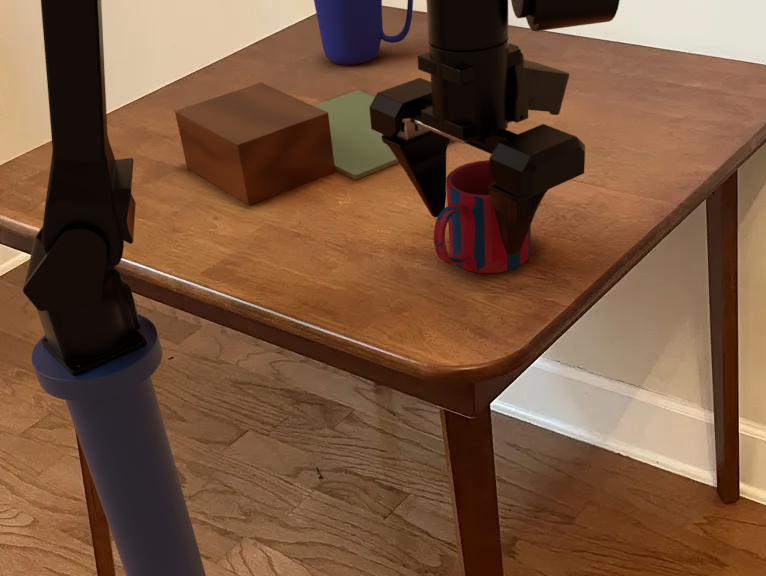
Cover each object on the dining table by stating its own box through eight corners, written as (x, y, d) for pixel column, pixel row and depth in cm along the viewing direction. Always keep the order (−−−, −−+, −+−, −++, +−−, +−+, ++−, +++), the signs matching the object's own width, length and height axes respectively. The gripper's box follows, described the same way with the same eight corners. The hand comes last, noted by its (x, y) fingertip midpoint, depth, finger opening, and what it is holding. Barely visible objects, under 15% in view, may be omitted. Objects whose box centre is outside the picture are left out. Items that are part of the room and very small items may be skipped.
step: (248, 205, 96) (237, 144, 92) (186, 168, 103) (174, 110, 100) (335, 171, 100) (328, 112, 97) (270, 138, 108) (261, 82, 104)
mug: (418, 65, 122) (412, -23, 116) (317, 72, 123) (306, -16, 116) (417, 42, 129) (412, -43, 122) (321, 49, 129) (311, -35, 123)
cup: (547, 250, 85) (548, 174, 81) (463, 299, 80) (459, 220, 76) (488, 226, 89) (486, 152, 85) (404, 271, 84) (398, 195, 80)
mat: (355, 180, 98) (354, 175, 98) (256, 130, 110) (256, 125, 110) (462, 137, 105) (462, 132, 104) (358, 94, 116) (357, 89, 116)
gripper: (644, 37, 71) (630, 238, 81) (467, -12, 83) (473, 168, 93) (527, 81, 66) (527, 290, 76) (357, 23, 78) (375, 209, 88)
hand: (474, 233), depth 83 cm, fingers open, 9 cm apart
